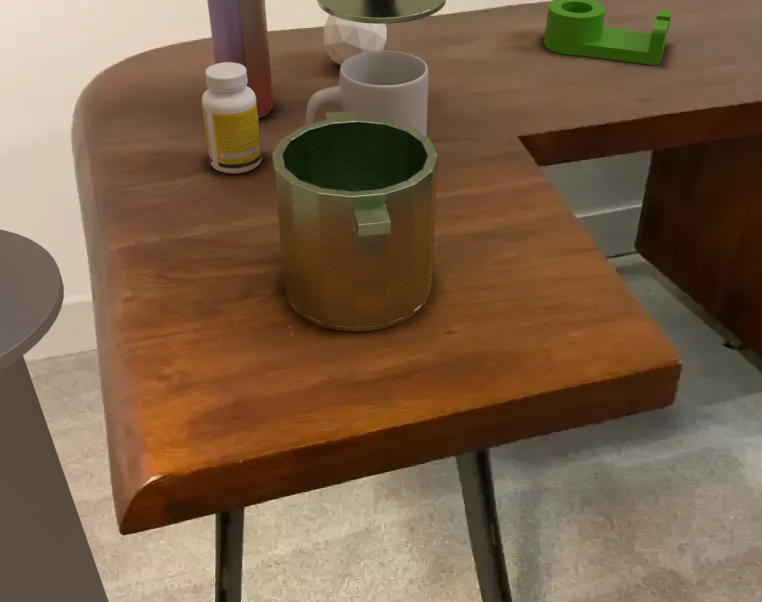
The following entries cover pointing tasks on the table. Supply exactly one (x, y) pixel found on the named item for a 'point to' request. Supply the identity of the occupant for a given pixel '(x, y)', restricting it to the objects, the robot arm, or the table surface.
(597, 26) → the tape dispenser
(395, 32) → the table surface
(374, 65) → the mug
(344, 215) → the pot
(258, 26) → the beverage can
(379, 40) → the geometric ball
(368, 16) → the lid
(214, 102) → the supplement bottle
